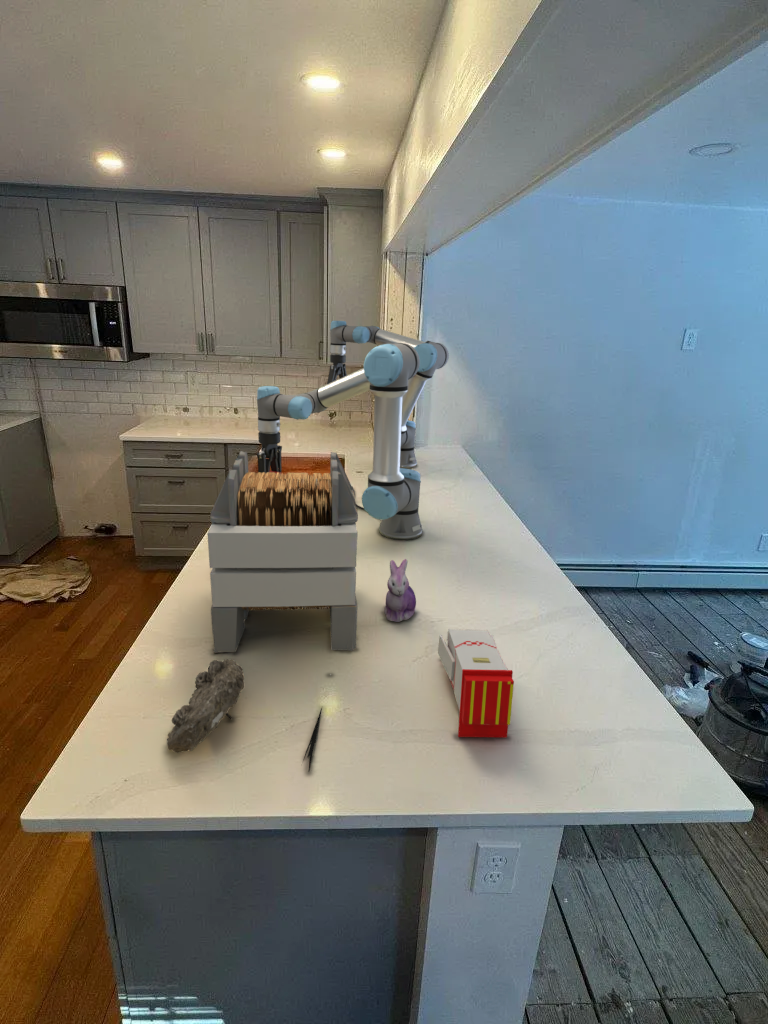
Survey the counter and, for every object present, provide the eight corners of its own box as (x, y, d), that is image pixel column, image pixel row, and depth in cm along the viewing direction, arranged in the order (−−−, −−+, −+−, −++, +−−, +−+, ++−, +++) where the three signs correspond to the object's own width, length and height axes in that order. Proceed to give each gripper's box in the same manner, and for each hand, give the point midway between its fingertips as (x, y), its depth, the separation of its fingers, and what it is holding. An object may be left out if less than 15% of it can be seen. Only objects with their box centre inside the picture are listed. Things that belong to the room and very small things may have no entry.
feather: (331, 679, 122) (336, 673, 122) (307, 777, 96) (313, 769, 95) (324, 675, 122) (329, 669, 121) (298, 772, 95) (304, 764, 95)
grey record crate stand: (232, 584, 158) (225, 442, 144) (349, 583, 162) (353, 444, 148) (211, 655, 127) (198, 480, 113) (357, 651, 130) (362, 482, 117)
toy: (488, 613, 130) (523, 677, 101) (484, 667, 133) (517, 744, 104) (435, 612, 130) (455, 676, 101) (432, 666, 133) (451, 743, 103)
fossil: (192, 660, 117) (244, 628, 112) (224, 691, 120) (276, 661, 115) (142, 746, 98) (202, 712, 93) (182, 779, 101) (242, 748, 96)
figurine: (392, 627, 141) (395, 572, 136) (374, 608, 149) (376, 556, 144) (425, 619, 145) (429, 566, 140) (405, 601, 154) (408, 550, 149)
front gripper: (265, 437, 189) (267, 503, 197) (291, 428, 204) (291, 489, 212) (245, 435, 191) (248, 500, 199) (272, 426, 207) (274, 487, 215)
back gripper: (334, 356, 262) (334, 402, 269) (354, 353, 284) (353, 396, 291) (320, 355, 264) (319, 401, 271) (341, 352, 286) (340, 394, 293)
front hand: (270, 494), depth 206 cm, fingers closed on brick, 5 cm apart
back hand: (337, 398), depth 281 cm, fingers open, 13 cm apart
